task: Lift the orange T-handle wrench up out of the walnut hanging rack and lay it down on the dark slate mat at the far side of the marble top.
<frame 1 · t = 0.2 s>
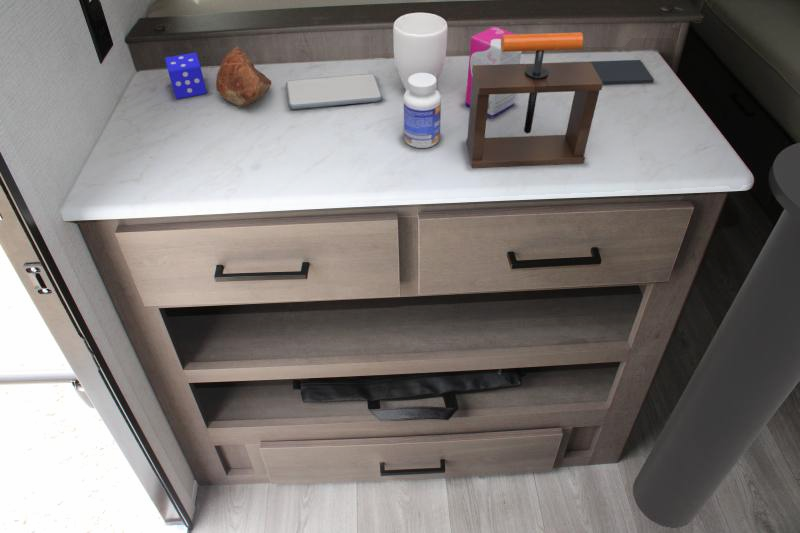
T-handle: (527, 133, 89), point 3 cm above the dresser top, touching rack
supplement box: (489, 106, 101), on the dresser top
die: (190, 90, 105), on the dresser top
smartphone: (333, 94, 104), on the dresser top
pill bottle: (421, 140, 95), on the dresser top
mug: (418, 86, 106), on the dresser top
rack: (523, 153, 92), on the dresser top
reddish-brown rock: (246, 95, 104), on the dresser top
mat: (600, 74, 108), on the dresser top
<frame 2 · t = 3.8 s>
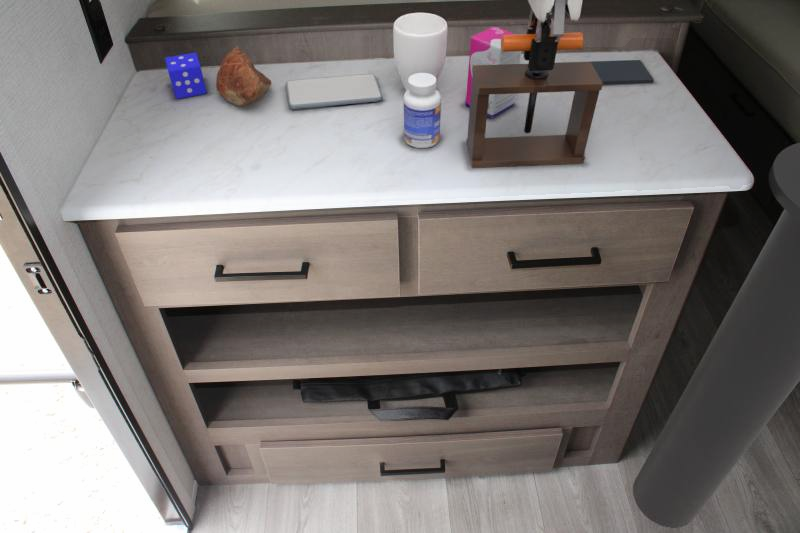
hand: (538, 63, 82), 14 cm above the dresser top, tool pointing down, fingers closed on T-handle, 2 cm apart
T-handle: (527, 133, 89), point 4 cm above the dresser top, touching gripper
everything else where it was.
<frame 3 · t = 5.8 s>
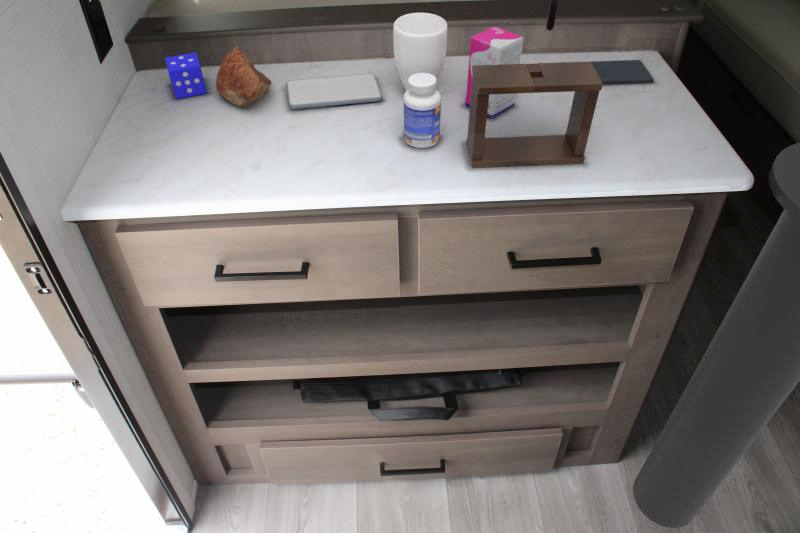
T-handle: (549, 30, 80), point 18 cm above the dresser top, touching gripper
everything else where it was.
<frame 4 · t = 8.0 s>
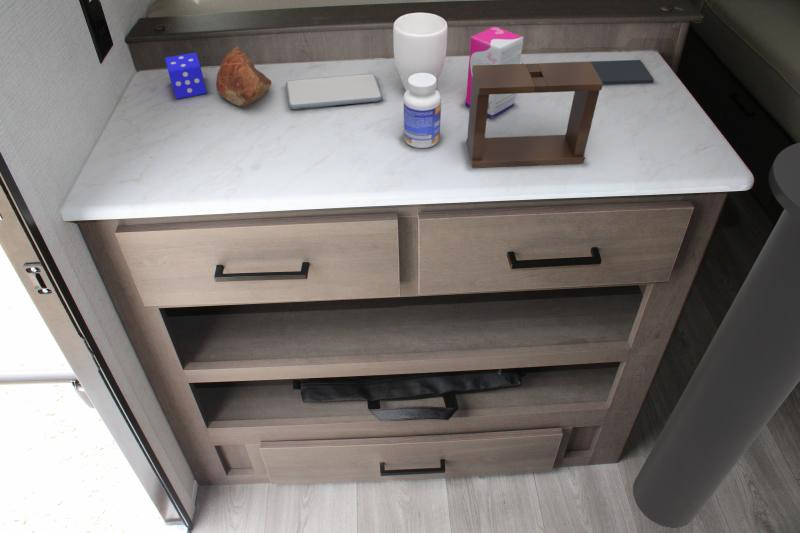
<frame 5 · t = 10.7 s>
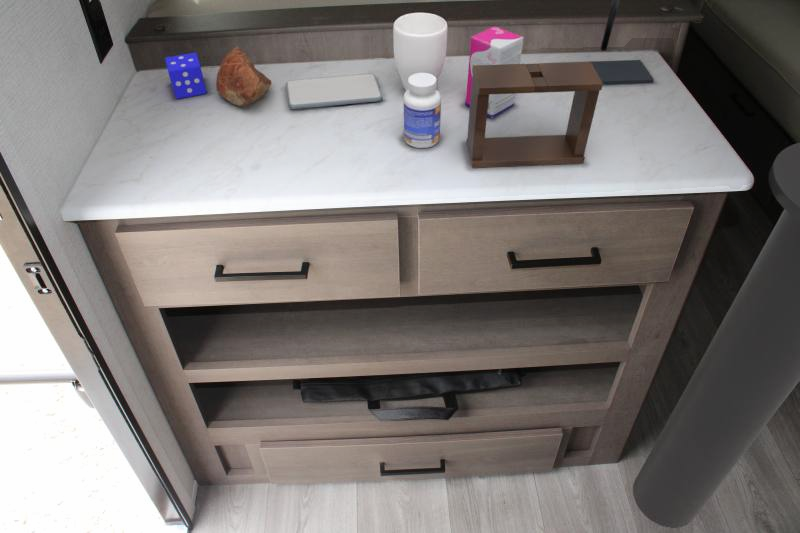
T-handle: (603, 50, 105), point 4 cm above the dresser top, touching gripper
everything else where it was.
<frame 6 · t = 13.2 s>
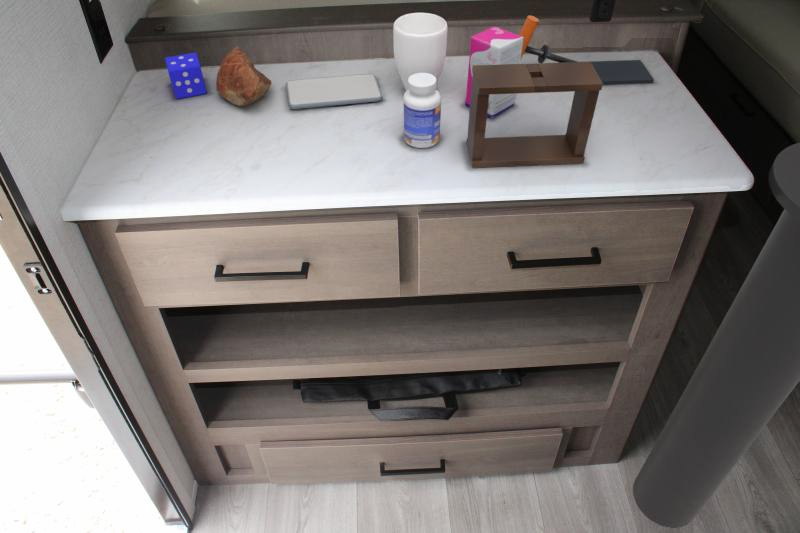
hand: (591, 7, 100), 12 cm above the dresser top, tool pointing down, fingers open, 9 cm apart
T-handle: (592, 69, 107), point 1 cm above the dresser top, tilted 72°, touching mat
everything else where it was.
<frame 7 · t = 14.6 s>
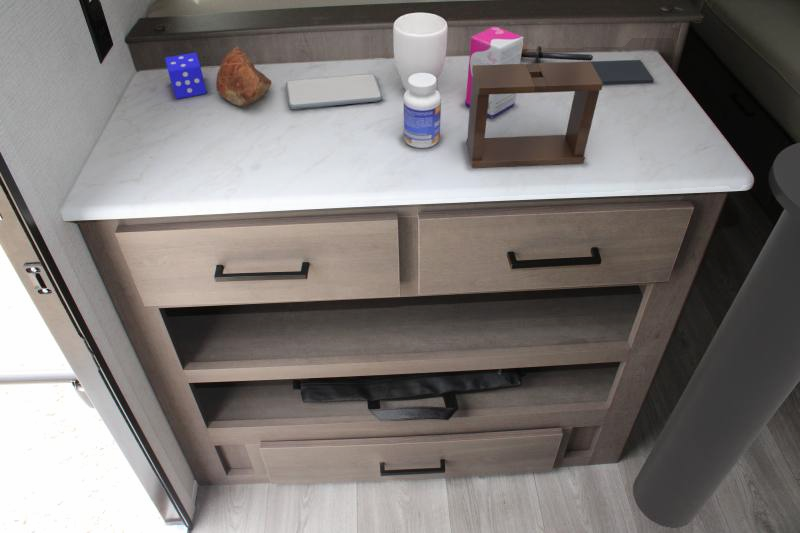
T-handle: (592, 57, 107), point 3 cm above the dresser top, tilted 97°
everything else where it was.
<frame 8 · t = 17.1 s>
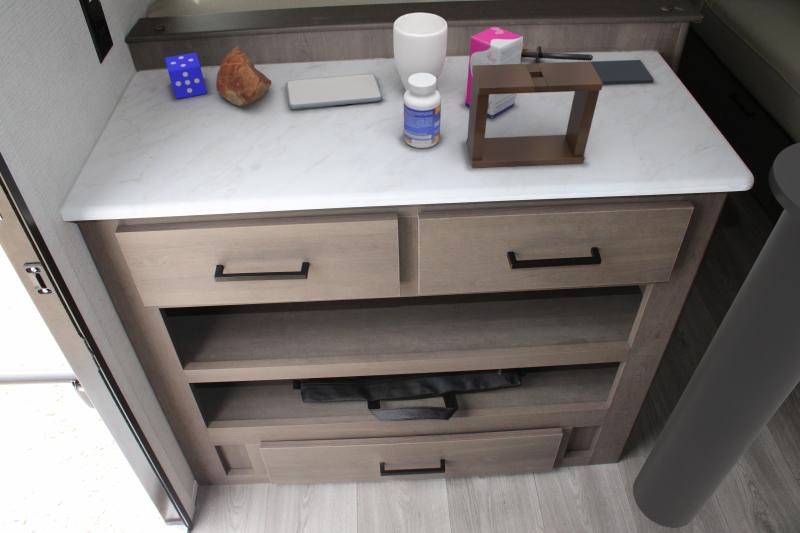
nothing on the dresser top moved.
at the end: T-handle inside the target area on the mat (0.9 cm from its centre), point 2.6 cm above the mat's base; T-handle touching dresser top; the gripper is holding nothing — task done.
